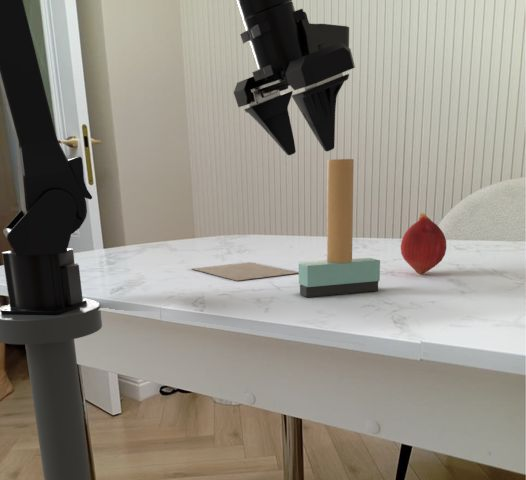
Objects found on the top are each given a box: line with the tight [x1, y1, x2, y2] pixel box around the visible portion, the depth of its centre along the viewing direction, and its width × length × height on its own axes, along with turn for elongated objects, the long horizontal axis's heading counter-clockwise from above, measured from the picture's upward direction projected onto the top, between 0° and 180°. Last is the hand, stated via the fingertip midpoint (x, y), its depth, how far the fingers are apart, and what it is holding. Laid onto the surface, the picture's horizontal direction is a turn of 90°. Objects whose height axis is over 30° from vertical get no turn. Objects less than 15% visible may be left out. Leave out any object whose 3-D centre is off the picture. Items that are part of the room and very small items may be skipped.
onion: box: [400, 212, 447, 275], centre depth 78 cm, size 6×6×8 cm
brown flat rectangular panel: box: [191, 262, 299, 282], centre depth 86 cm, size 14×10×1 cm
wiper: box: [298, 158, 381, 298], centre depth 66 cm, size 9×3×15 cm, turn 109°
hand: (309, 152), depth 71 cm, fingers open, 9 cm apart
